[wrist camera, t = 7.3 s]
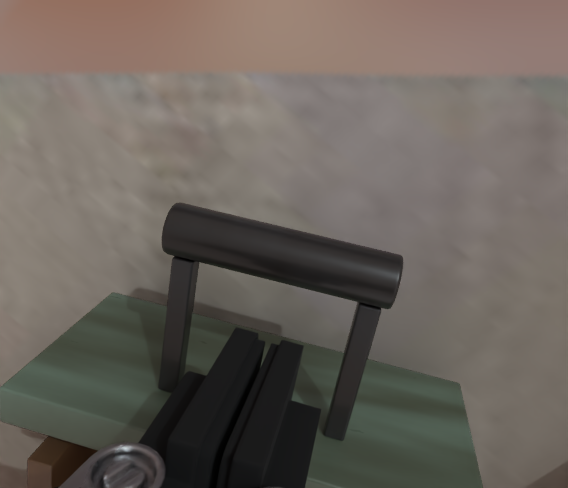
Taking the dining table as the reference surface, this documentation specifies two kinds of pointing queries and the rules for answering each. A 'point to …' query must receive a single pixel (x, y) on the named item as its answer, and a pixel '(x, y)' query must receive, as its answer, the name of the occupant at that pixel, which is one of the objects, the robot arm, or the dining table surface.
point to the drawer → (310, 379)
